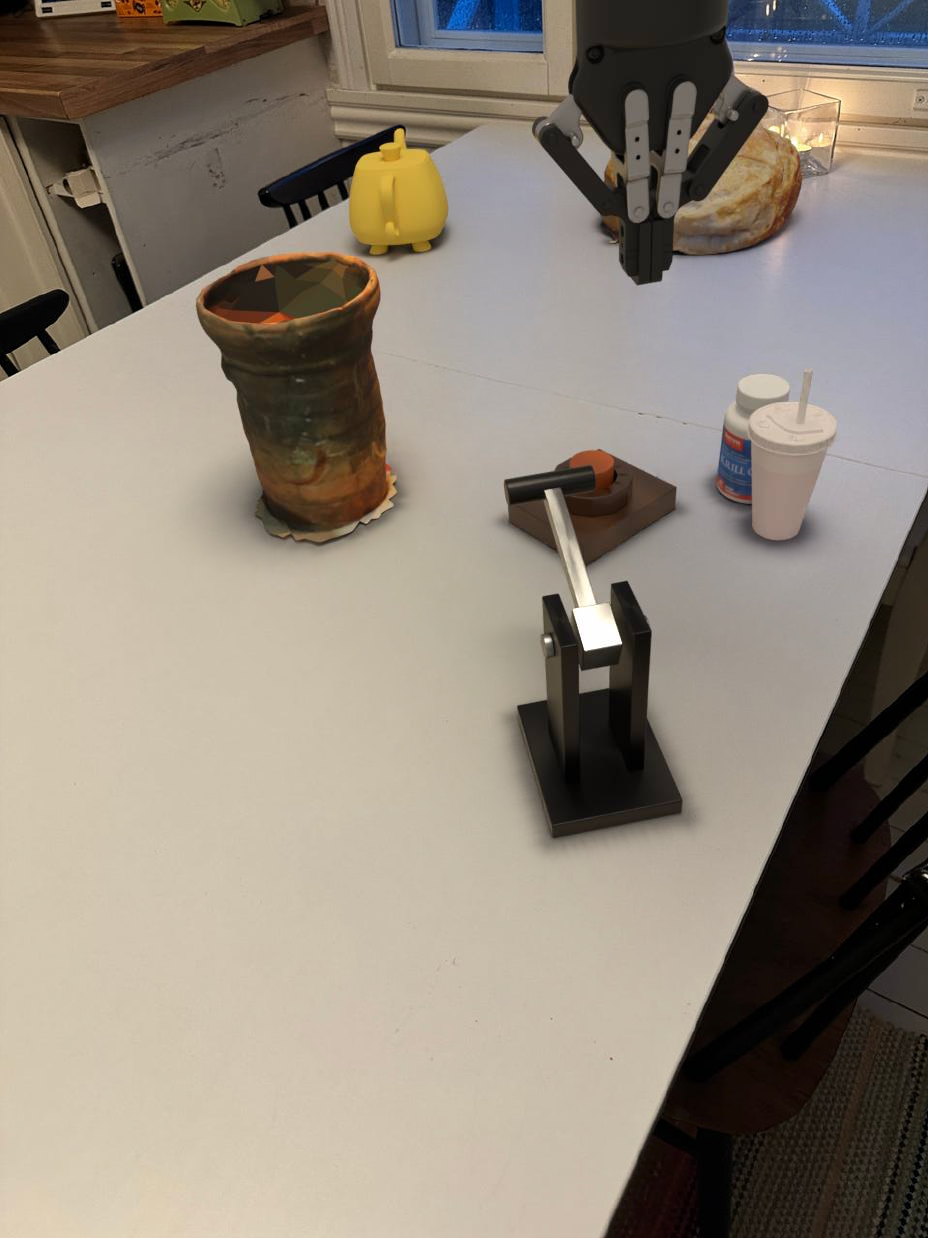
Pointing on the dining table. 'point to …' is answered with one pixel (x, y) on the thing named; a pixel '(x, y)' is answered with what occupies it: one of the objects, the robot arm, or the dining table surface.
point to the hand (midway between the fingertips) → (645, 278)
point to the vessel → (305, 387)
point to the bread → (735, 197)
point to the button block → (603, 510)
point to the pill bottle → (744, 433)
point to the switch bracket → (597, 729)
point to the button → (596, 466)
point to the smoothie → (787, 461)
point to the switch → (572, 560)
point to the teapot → (397, 198)
